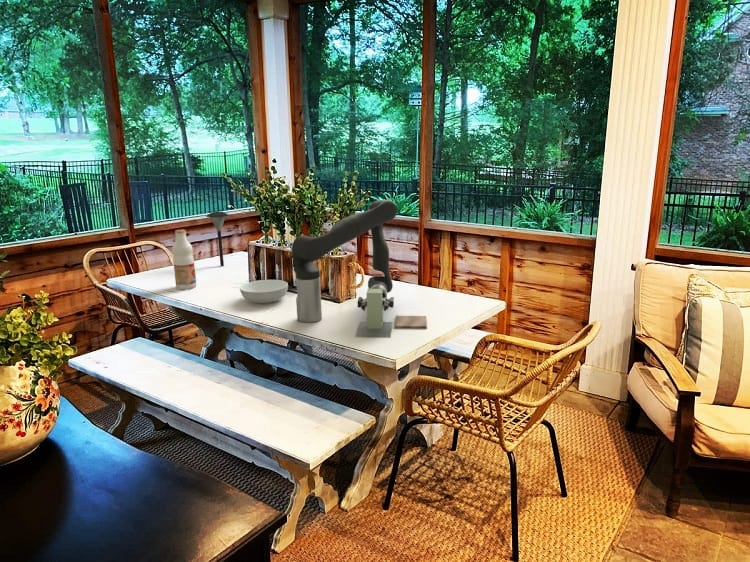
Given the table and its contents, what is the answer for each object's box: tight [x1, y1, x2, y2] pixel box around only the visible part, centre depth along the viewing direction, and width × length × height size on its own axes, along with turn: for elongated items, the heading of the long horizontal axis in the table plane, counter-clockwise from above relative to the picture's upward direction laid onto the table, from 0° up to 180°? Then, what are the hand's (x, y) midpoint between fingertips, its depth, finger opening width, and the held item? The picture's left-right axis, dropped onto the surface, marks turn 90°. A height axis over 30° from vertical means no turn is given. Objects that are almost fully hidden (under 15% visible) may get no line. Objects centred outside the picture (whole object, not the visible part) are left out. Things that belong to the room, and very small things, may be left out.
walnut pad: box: [394, 315, 428, 330], centre depth 219 cm, size 12×12×1 cm
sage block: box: [366, 288, 384, 329], centre depth 214 cm, size 6×6×14 cm
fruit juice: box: [171, 229, 197, 290], centre depth 271 cm, size 9×9×28 cm
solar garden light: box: [206, 211, 230, 267], centre depth 311 cm, size 12×12×30 cm
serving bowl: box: [239, 279, 289, 304], centre depth 251 cm, size 21×21×7 cm
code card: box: [354, 321, 393, 339], centre depth 213 cm, size 13×17×1 cm
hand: (374, 308), depth 212 cm, fingers open, 7 cm apart
